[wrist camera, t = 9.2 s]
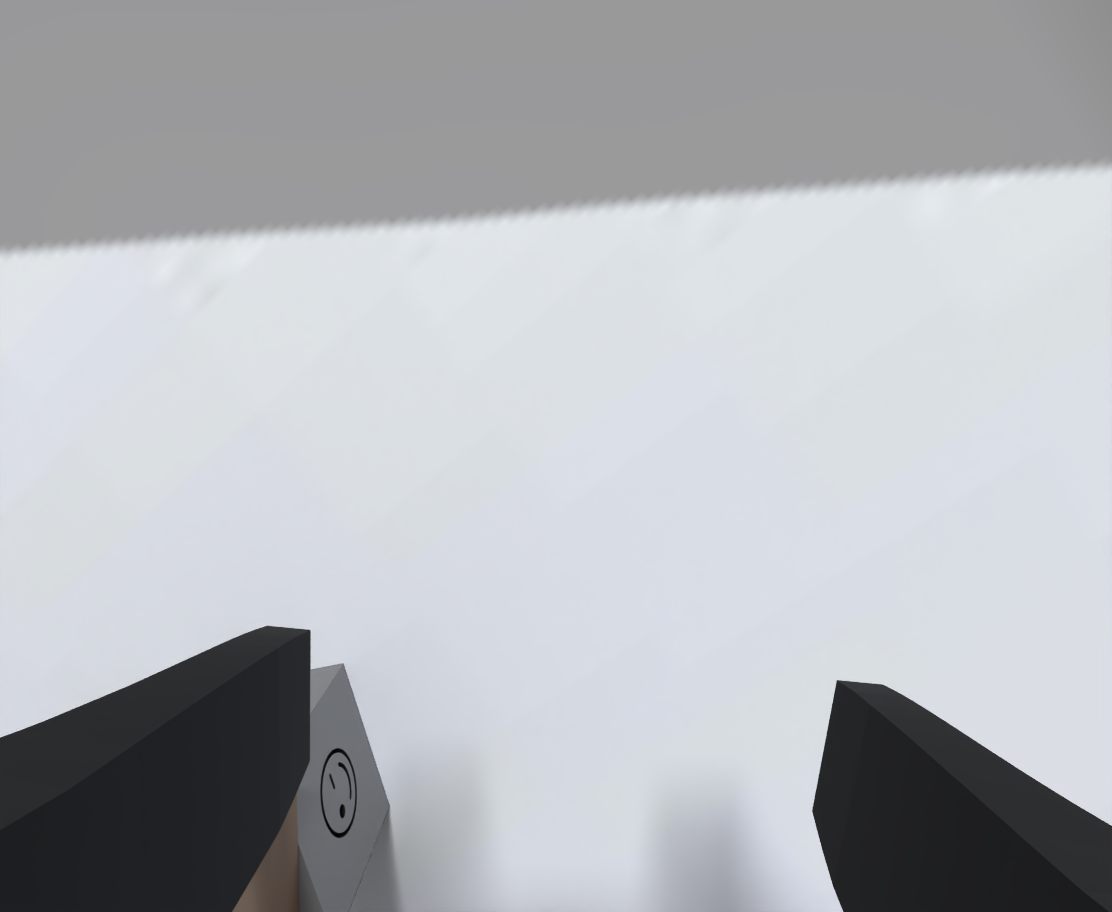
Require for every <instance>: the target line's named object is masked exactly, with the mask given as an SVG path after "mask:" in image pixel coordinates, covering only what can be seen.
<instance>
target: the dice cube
mask: <svg viewBox="0 0 1112 912" xmlns="http://www.w3.org/2000/svg"><path fill="white" fill-rule="evenodd" d="M389 806H390V805H389V802H388V799H387V796H386V793H385V790H384V787H383V784H382V781H381V777H380V774H379V771H378V768H377V765H376V762H375V759H374V756H373V753H372V750H371V747H370V744H369V741H368V737H367V734H366V731H365V728H364V725H363V722H362V719H361V716H360V713H359V710H358V707H357V704H356V701H355V697H354V694H353V691H352V688H351V685H350V682H349V679H348V676H347V673H346V670H345V667H344V664H343V663H342V664H337V665H332V666H327V667H322V668H317V669H312V670H310V762H309V765H308V767H307V769H306V772H305V774H304V777H303V779H302V781H301V784H300V786H299V788H298V791H297V821H298V861H299V902H300V912H349V910H350V908H351V905H352V902H353V900H354V897H355V895H356V892H357V889H358V887H359V884H360V882H361V879H362V876H363V874H364V871H365V869H366V866H367V863H368V861H369V858H370V856H371V853H372V850H373V848H374V845H375V843H376V840H377V837H378V835H379V832H380V830H381V827H382V824H383V822H384V819H385V817H386V814H387V811H388V809H389Z"/></svg>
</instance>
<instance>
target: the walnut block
mask: <svg viewBox="0 0 1112 912" xmlns="http://www.w3.org/2000/svg"><path fill="white" fill-rule="evenodd" d="M232 912H300V902H299V861H298V821H297V793H296V796H295V798H294V800H293V803H292V805H291V807H290V809H289V811H288V814H287V816H286V818H285V820H284V823H283V825H282V827H281V829H280V831H279V833H278V835H277V836H276V838H275V840H274V842H273V843H272V845H271V847H270V849H269V850H268V852H267V854H266V855H265V857H264V859H263V861H262V862H261V864H260V866H259V867H258V869H257V871H256V872H255V874H254V876H253V878H252V879H251V881H250V883H249V884H248V886H247V888H246V889H245V891H244V893H243V894H242V896H241V898H240V900H239V901H238V903H237V905H236V906H235V908H234V910H233V911H232Z"/></svg>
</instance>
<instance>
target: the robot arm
mask: <svg viewBox="0 0 1112 912" xmlns="http://www.w3.org/2000/svg"><path fill="white" fill-rule="evenodd" d="M309 762H310V630H305V629H294V628H284V627H273V626H265V627H262V628H259V629H256V630H253V631H250V632H248V633H245V634H243V635H241V636H238V637H236V638H233V639H231V640H229V641H227V642H224V643H222V644H220V645H218V646H215V647H213V648H211V649H209V650H207V651H204V652H202V653H200V654H198V655H196V656H194V657H191V658H189V659H187V660H185V661H183V662H180V663H178V664H176V665H174V666H172V667H169V668H167V669H165V670H163V671H161V672H158V673H156V674H154V675H152V676H150V677H147V678H145V679H143V680H141V681H139V682H137V683H134V684H132V685H130V686H127V687H125V688H123V689H120V690H118V691H115V692H113V693H111V694H108V695H106V696H103V697H101V698H99V699H96V700H94V701H92V702H89V703H87V704H84V705H82V706H80V707H77V708H75V709H72V710H70V711H68V712H65V713H63V714H60V715H58V716H56V717H53V718H51V719H48V720H46V721H44V722H41V723H38V724H36V725H33V726H31V727H28V728H25V729H23V730H20V731H17V732H15V733H12V734H9V735H6V736H4V737H1V738H0V912H232V911H233V910H234V908H235V906H236V905H237V903H238V901H239V900H240V898H241V896H242V894H243V893H244V891H245V889H246V888H247V886H248V884H249V883H250V881H251V879H252V878H253V876H254V874H255V872H256V871H257V869H258V867H259V866H260V864H261V862H262V861H263V859H264V857H265V855H266V854H267V852H268V850H269V849H270V847H271V845H272V843H273V842H274V840H275V838H276V836H277V835H278V833H279V831H280V829H281V827H282V825H283V823H284V820H285V818H286V816H287V814H288V811H289V809H290V807H291V805H292V803H293V800H294V798H295V796H296V793H297V791H298V788H299V786H300V784H301V781H302V779H303V777H304V774H305V772H306V769H307V767H308V765H309ZM812 812H813V816H814V819H815V823H816V827H817V831H818V835H819V838H820V842H821V846H822V850H823V853H824V857H825V860H826V863H827V867H828V870H829V874H830V877H831V880H832V884H833V887H834V889H835V892H836V894H837V897H838V899H839V902H840V904H841V907H842V909H843V912H1112V826H1111V825H1109V824H1107V823H1106V822H1104V821H1102V820H1101V819H1099V818H1097V817H1096V816H1094V815H1092V814H1091V813H1089V812H1087V811H1085V810H1084V809H1082V808H1080V807H1079V806H1077V805H1075V804H1074V803H1072V802H1070V801H1069V800H1067V799H1065V798H1064V797H1062V796H1061V795H1059V794H1057V793H1056V792H1054V791H1053V790H1051V789H1049V788H1048V787H1046V786H1044V785H1043V784H1041V783H1040V782H1038V781H1036V780H1035V779H1033V778H1032V777H1030V776H1029V775H1027V774H1025V773H1024V772H1022V771H1021V770H1019V769H1018V768H1016V767H1014V766H1013V765H1011V764H1010V763H1008V762H1007V761H1005V760H1004V759H1002V758H1000V757H999V756H997V755H996V754H994V753H993V752H991V751H990V750H988V749H987V748H985V747H984V746H982V745H980V744H979V743H977V742H976V741H974V740H973V739H971V738H970V737H968V736H967V735H965V734H964V733H962V732H961V731H959V730H957V729H956V728H954V727H953V726H951V725H950V724H948V723H947V722H945V721H944V720H942V719H941V718H939V717H937V716H936V715H934V714H933V713H931V712H930V711H928V710H926V709H925V708H923V707H922V706H920V705H918V704H917V703H915V702H914V701H912V700H910V699H908V698H907V697H905V696H903V695H902V694H900V693H898V692H896V691H894V690H892V689H890V688H888V687H886V686H884V685H881V684H870V683H860V682H849V681H839V680H837V683H836V688H835V693H834V699H833V704H832V709H831V715H830V720H829V725H828V731H827V736H826V741H825V746H824V752H823V757H822V762H821V768H820V773H819V778H818V784H817V789H816V794H815V799H814V805H813V810H812Z"/></svg>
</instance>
